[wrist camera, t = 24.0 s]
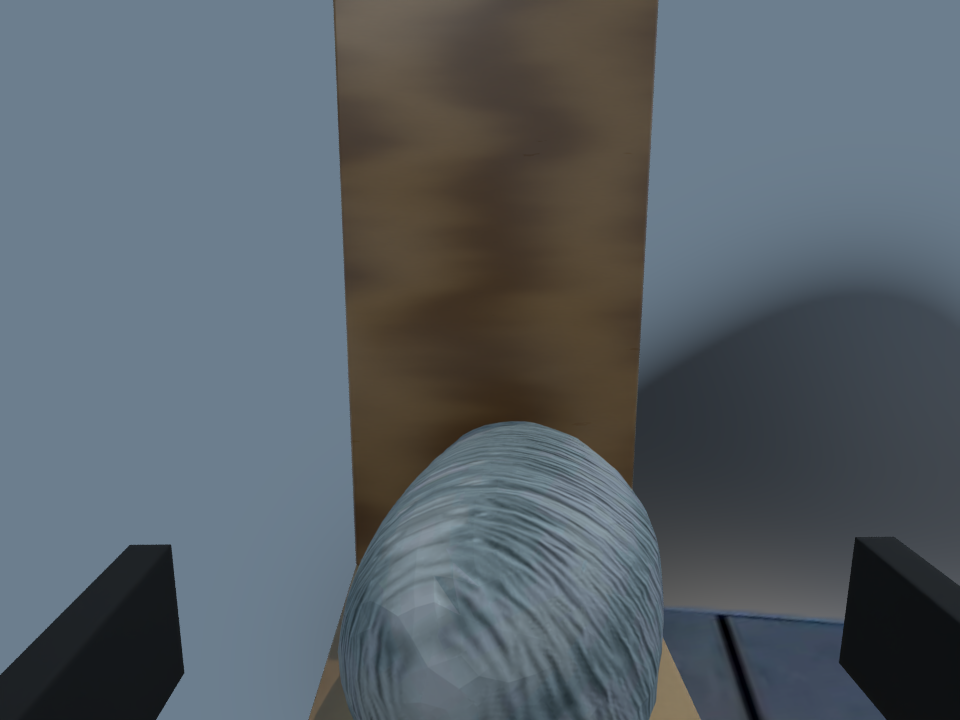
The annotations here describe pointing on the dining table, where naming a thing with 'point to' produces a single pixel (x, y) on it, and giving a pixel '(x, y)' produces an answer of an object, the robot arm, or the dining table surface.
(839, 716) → the dining table surface
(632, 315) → the wooden chair
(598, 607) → the grey streaked ellipsoid
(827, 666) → the dining table surface
